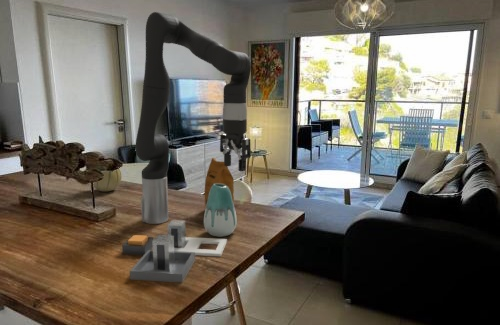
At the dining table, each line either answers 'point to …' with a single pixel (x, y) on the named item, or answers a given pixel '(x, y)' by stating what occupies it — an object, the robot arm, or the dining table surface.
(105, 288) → the dining table surface
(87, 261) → the dining table surface
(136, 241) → the button
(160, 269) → the block
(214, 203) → the vase
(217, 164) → the coffee package
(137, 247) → the button housing
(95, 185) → the cantaloupe
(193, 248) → the white slotted plate
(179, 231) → the block
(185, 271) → the tray
